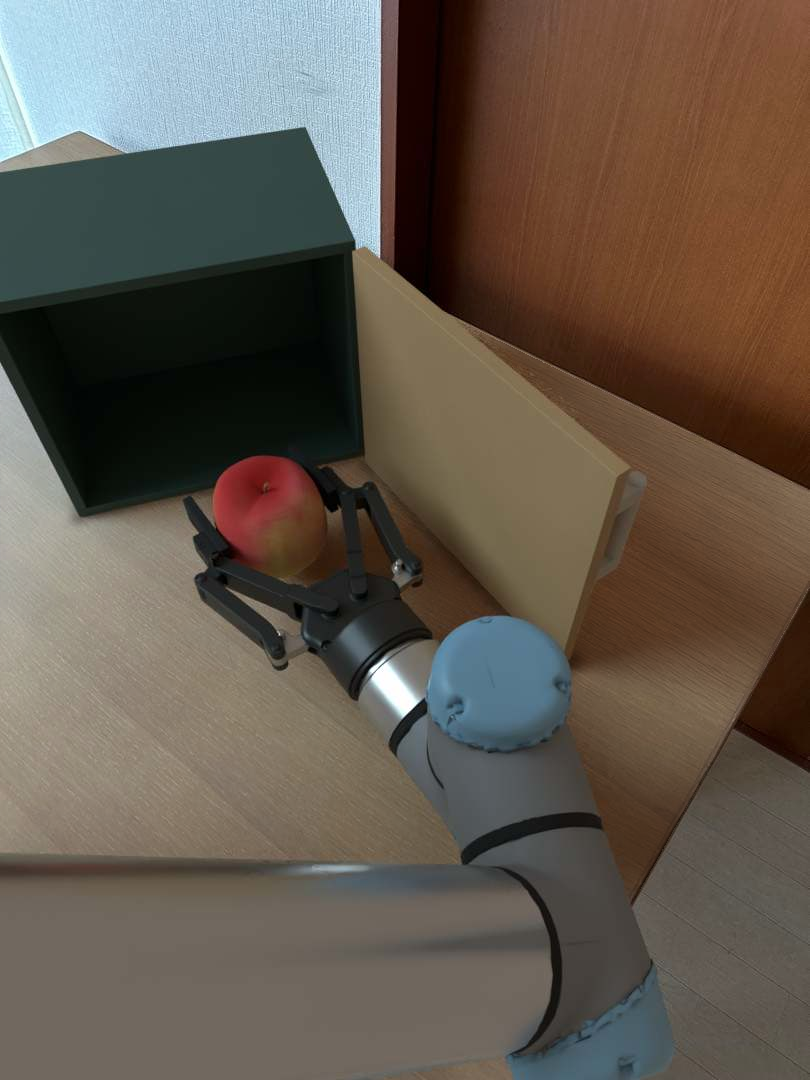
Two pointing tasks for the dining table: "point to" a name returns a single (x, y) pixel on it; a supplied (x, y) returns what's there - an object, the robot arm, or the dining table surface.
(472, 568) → the cupboard door
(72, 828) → the dining table surface
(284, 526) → the apple
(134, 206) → the cupboard
